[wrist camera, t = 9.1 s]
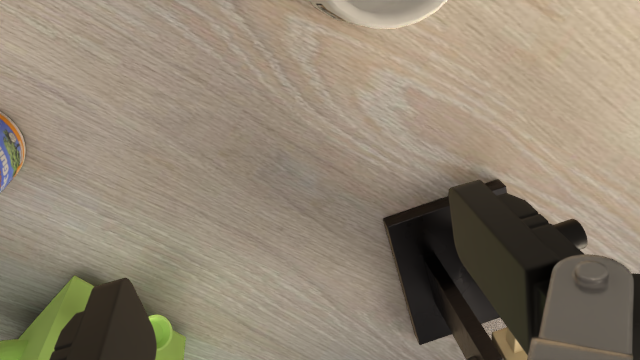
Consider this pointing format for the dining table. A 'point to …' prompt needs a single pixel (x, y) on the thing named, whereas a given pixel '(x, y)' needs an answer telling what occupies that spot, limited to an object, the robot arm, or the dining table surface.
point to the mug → (378, 11)
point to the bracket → (440, 279)
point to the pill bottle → (10, 150)
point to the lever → (504, 338)
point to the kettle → (41, 336)
